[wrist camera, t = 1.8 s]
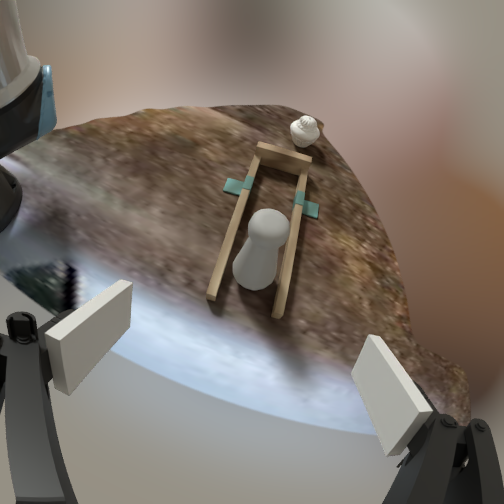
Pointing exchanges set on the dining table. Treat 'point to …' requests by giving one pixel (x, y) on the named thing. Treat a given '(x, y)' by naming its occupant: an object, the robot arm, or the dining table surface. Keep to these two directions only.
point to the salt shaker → (261, 249)
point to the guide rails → (296, 166)
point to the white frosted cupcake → (304, 131)
